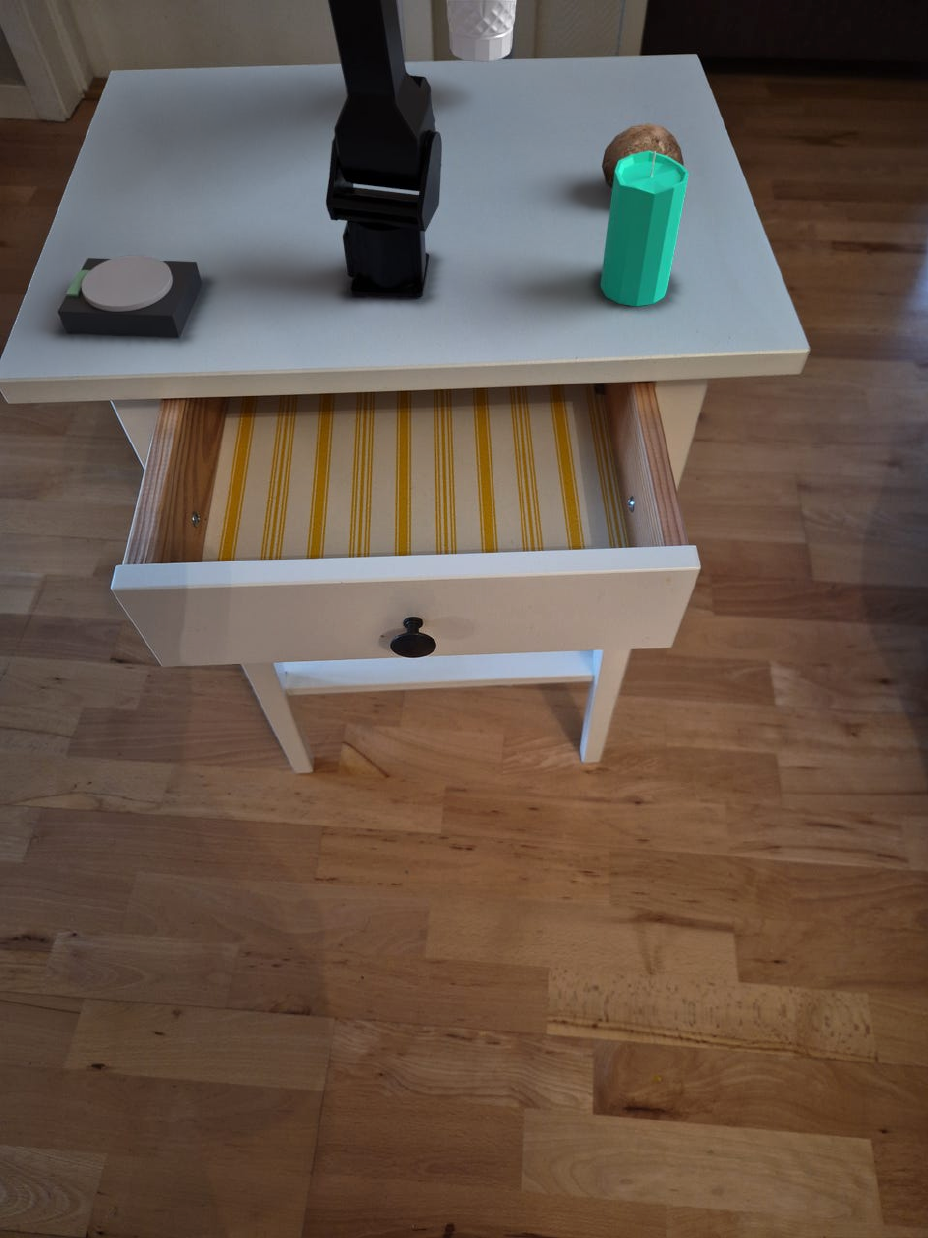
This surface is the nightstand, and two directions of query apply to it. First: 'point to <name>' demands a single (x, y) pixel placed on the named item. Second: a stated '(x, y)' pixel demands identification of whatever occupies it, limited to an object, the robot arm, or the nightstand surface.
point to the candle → (642, 227)
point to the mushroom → (639, 147)
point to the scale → (131, 297)
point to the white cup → (481, 28)
